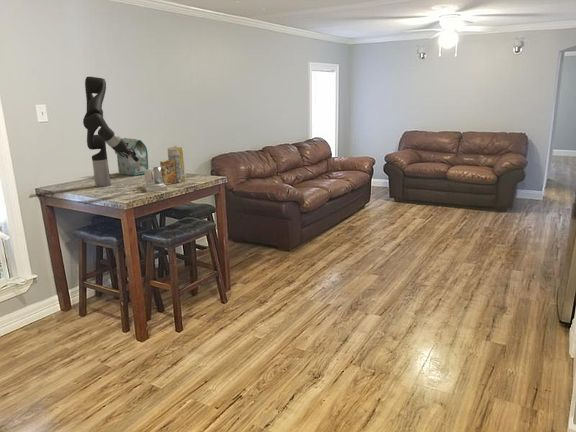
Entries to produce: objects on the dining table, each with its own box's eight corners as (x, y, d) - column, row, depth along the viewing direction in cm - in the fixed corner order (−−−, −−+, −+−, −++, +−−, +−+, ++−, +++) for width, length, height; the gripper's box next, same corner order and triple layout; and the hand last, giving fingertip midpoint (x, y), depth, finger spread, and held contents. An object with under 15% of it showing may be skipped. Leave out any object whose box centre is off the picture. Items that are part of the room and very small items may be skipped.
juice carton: (187, 180, 304) (184, 145, 298) (180, 182, 297) (176, 146, 291) (176, 179, 308) (173, 144, 302) (169, 182, 301) (165, 146, 295)
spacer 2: (155, 184, 277) (153, 168, 274) (154, 183, 281) (152, 167, 278) (162, 183, 279) (161, 167, 276) (161, 182, 282) (159, 166, 280)
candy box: (166, 185, 291) (164, 161, 287) (162, 184, 293) (159, 161, 289) (176, 182, 298) (174, 159, 294) (172, 182, 300) (170, 159, 296)
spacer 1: (129, 168, 262) (127, 151, 260) (128, 168, 266) (126, 151, 264) (137, 168, 264) (135, 151, 262) (136, 167, 268) (134, 150, 266)
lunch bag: (115, 174, 340) (111, 138, 333) (135, 171, 352) (131, 136, 345) (132, 177, 325) (127, 139, 318) (152, 173, 337) (148, 137, 330)
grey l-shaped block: (147, 192, 271) (144, 173, 268) (142, 188, 284) (140, 170, 281) (167, 189, 276) (165, 171, 273) (161, 185, 289) (160, 168, 286)
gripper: (126, 136, 251) (146, 155, 263) (110, 136, 258) (130, 155, 271) (119, 147, 248) (139, 165, 260) (103, 146, 255) (123, 165, 268)
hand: (134, 160), depth 266 cm, fingers closed on spacer 1, 4 cm apart
